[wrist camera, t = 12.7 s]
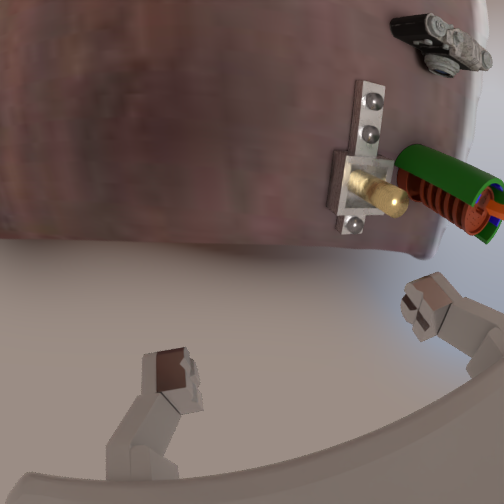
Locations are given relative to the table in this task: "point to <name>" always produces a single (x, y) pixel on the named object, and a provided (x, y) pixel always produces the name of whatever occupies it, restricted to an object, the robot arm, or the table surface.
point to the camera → (441, 44)
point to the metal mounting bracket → (359, 160)
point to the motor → (453, 190)
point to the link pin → (379, 193)
